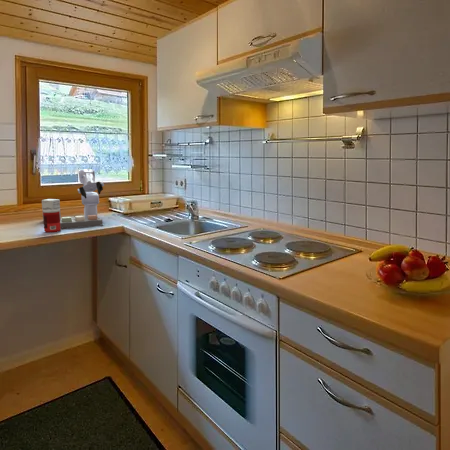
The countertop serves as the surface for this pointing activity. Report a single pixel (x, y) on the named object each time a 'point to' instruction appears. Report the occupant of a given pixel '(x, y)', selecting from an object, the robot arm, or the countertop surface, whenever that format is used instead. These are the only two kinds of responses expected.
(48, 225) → the canned food
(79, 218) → the cream button
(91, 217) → the terracotta button
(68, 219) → the sage button
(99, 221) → the console
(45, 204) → the white canister
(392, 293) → the countertop surface
